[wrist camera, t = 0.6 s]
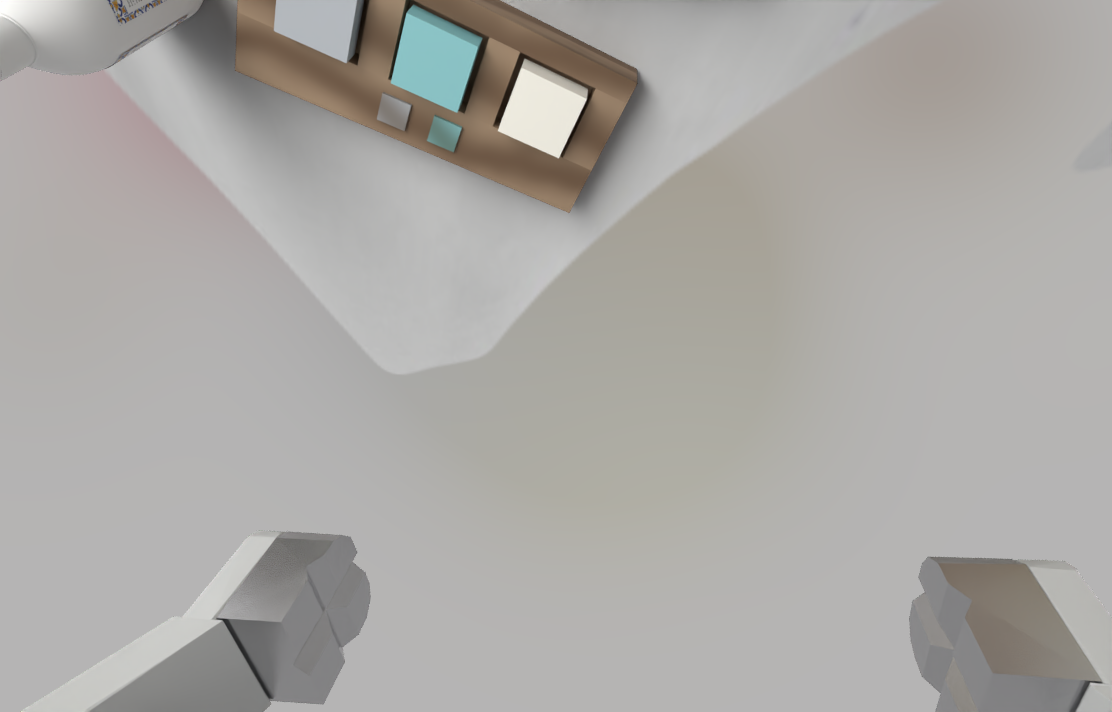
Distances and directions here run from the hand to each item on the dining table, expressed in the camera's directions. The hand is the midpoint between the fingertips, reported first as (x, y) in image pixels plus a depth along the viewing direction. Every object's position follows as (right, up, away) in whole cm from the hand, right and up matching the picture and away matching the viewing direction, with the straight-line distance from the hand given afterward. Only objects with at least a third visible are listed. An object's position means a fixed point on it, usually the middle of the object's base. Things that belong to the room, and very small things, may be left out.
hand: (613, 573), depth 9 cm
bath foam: (-32, +34, +38) cm, 60 cm away
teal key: (-10, +27, +39) cm, 48 cm away
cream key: (-2, +24, +41) cm, 47 cm away
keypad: (-10, +28, +41) cm, 51 cm away
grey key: (-18, +30, +36) cm, 51 cm away
